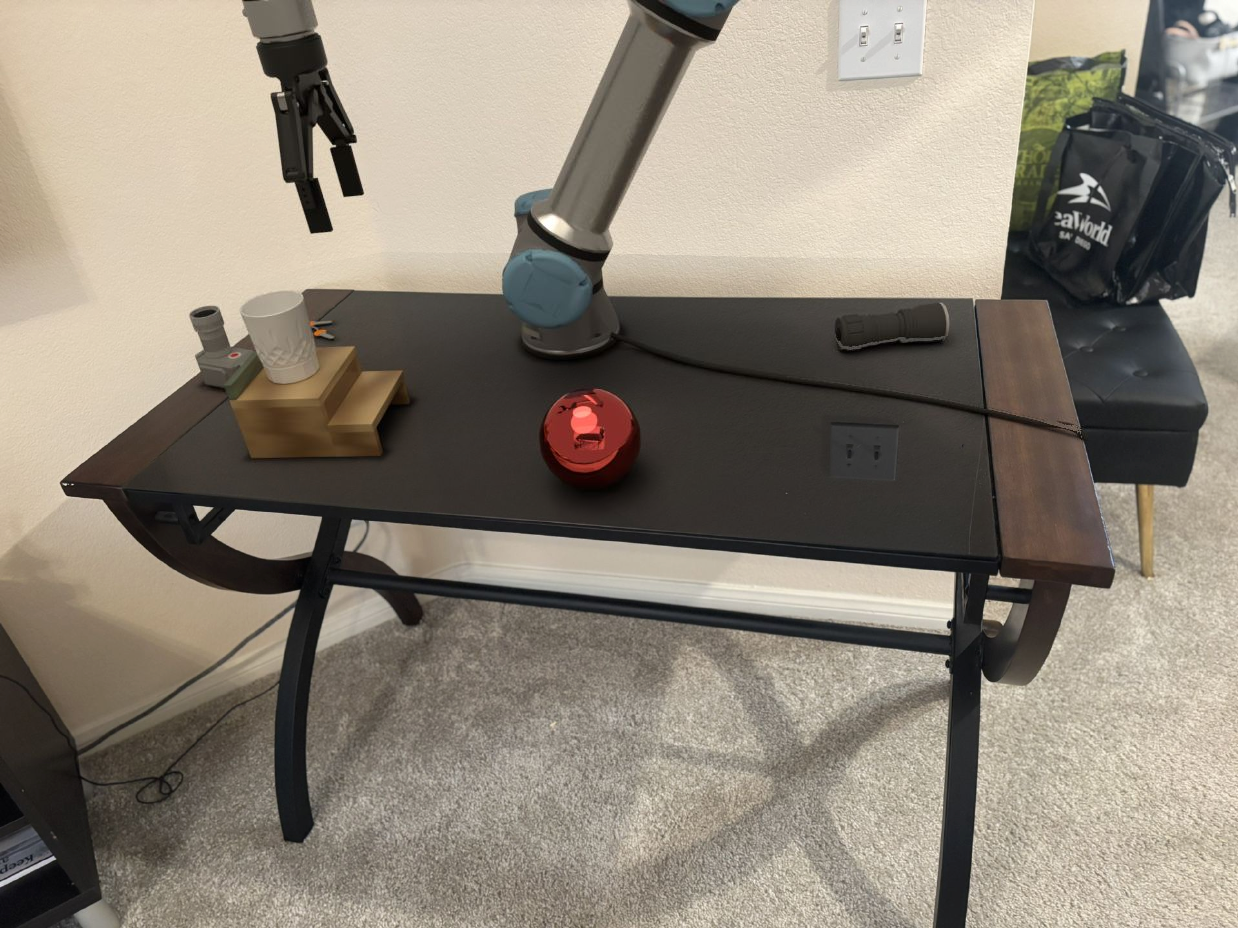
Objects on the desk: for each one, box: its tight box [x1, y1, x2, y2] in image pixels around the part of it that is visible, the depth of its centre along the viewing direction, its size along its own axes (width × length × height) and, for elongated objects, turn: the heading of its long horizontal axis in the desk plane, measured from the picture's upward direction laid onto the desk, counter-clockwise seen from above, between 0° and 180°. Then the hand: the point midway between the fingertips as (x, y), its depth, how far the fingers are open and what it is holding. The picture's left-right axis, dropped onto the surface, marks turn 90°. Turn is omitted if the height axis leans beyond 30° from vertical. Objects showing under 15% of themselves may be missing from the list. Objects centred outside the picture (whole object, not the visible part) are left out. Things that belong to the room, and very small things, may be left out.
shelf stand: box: [223, 345, 411, 459], centre depth 122 cm, size 18×14×11 cm
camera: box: [188, 305, 255, 389], centre depth 135 cm, size 9×12×15 cm
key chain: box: [309, 320, 335, 340], centre depth 151 cm, size 13×7×1 cm, turn 84°
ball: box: [538, 387, 642, 491], centre depth 107 cm, size 12×12×12 cm
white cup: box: [239, 289, 319, 384], centre depth 118 cm, size 8×8×10 cm
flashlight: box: [834, 302, 950, 352], centre depth 130 cm, size 15×5×5 cm, turn 95°
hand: (338, 213), depth 118 cm, fingers open, 13 cm apart
